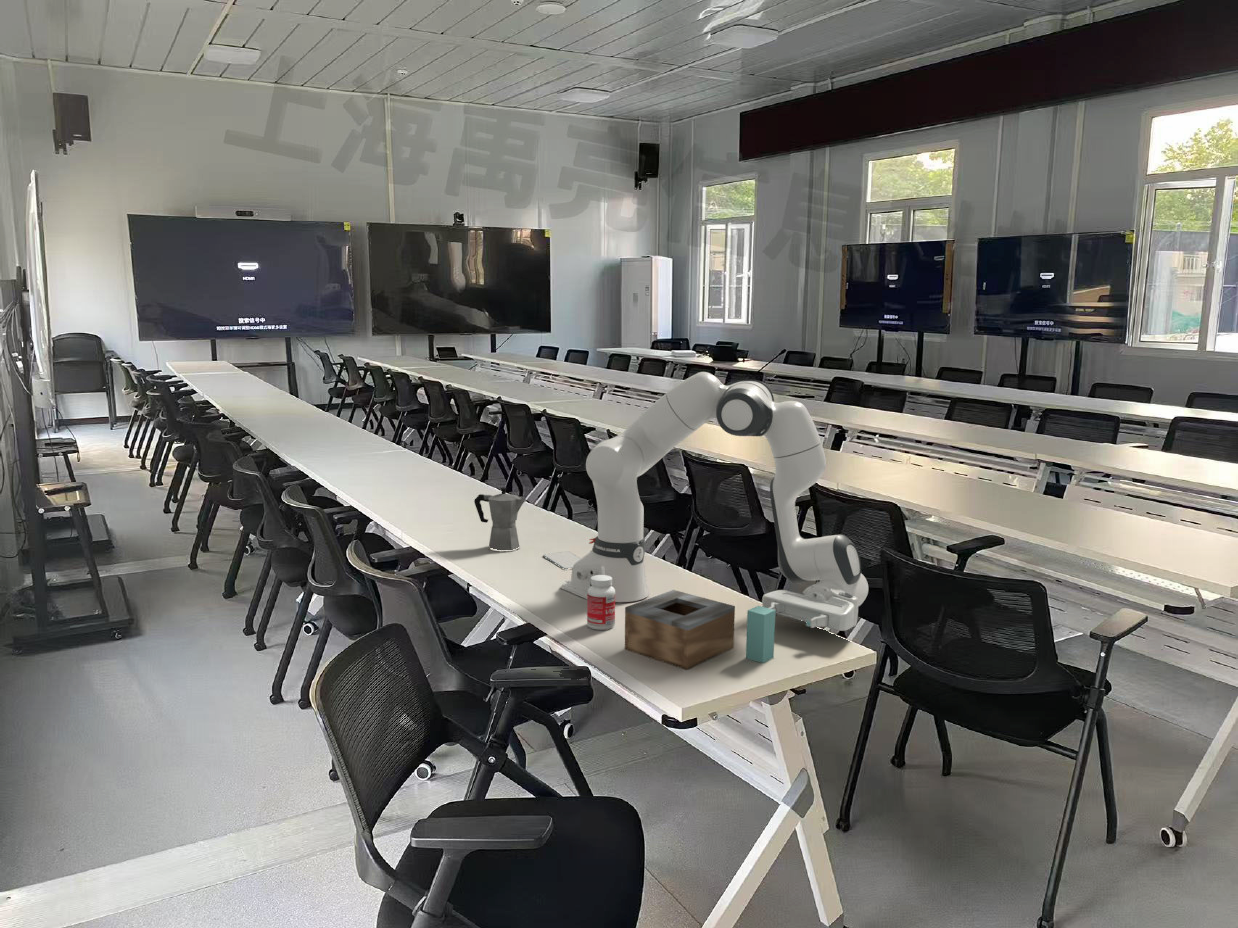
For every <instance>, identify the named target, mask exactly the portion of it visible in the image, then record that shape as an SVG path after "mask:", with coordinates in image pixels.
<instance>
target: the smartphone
mask: <svg viewBox="0 0 1238 928" xmlns="http://www.w3.org/2000/svg"><path fill="white" fill-rule="evenodd" d="M542 556H544V557H547V559H549V560H551V561H552V562H553V563H556V564H557V565H559V566H560V567H561V568H560V567H559V568H560V569H562V568H564V569H568V568H573V566H574V564H575V563H576V562H577V561H578V560H580V559H581V558H582V557H579V556H577V555H576V554H574V553H573V552H571V551H561V552H553V553H546V554H545V553H544V554H543V555H542ZM544 557H543V558H544ZM547 559H546V560H547ZM549 560H548V561H549ZM552 562H551V563H552ZM553 563H552V564H553ZM557 565H556V566H557Z"/></svg>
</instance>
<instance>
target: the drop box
mask: <svg viewBox="0 0 1238 928" xmlns="http://www.w3.org/2000/svg"><path fill="white" fill-rule="evenodd" d="M624 614H625V615H624V650H625V651H626V650H627V651H630V652H632V653H635V654H639V655H642V656H644V657H647V658H651V659H653V660H656V661H658V662H662V663H665V664H668V665H672V666H675V667H676V668H677V667H678V668H681V669H683V670H687V671H688V670H689V669H692V668H694V667H696V666H697V665H700V664H702V663H704V662H706V661H709V660H711V659H713V658H715V657H717V656H720V655H721V654H723V653H725V652H727V651H730V650H731V649H734V648H735V646H734V645H735V621H736V620H735V619H736V616H735V615H736V605H733V604H729V603H724V602H721V601H717V600H713V599H709V598H706V597H702V596H698V595H693V594H691V593H688V592H687V593H686V592H684V591H679V590H675V589H672V590H669V591H666V592H664V593H661V594H658V595H656V596H652V597H650V598H648V599H644V600H642V601H637V603H636V602H635V603H633V604H630V605H627V606H625V609H624Z"/></svg>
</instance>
